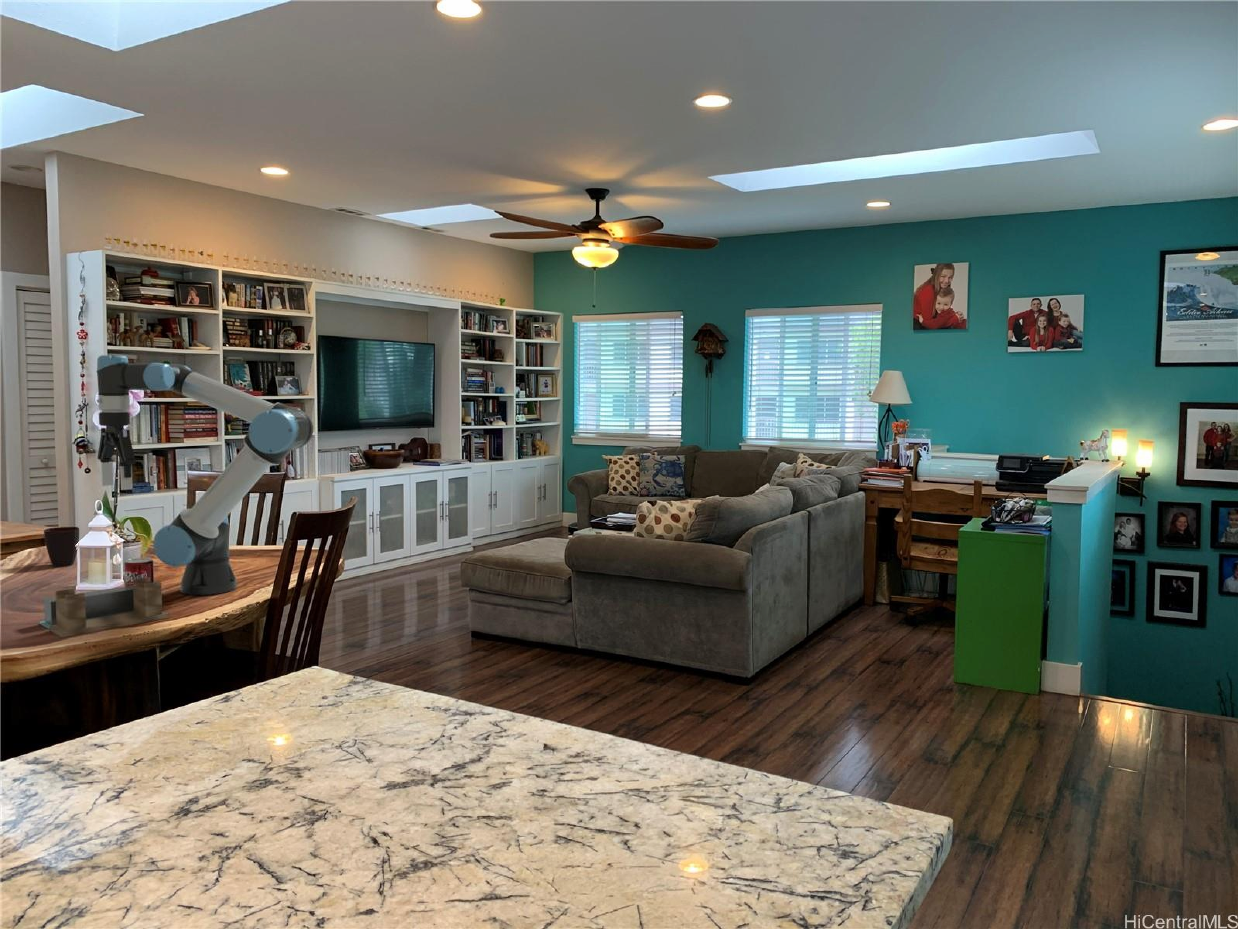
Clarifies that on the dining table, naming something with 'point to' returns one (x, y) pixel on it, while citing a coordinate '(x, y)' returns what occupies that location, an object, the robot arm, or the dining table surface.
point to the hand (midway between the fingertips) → (117, 487)
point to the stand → (75, 622)
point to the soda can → (138, 570)
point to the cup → (62, 545)
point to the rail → (97, 603)
